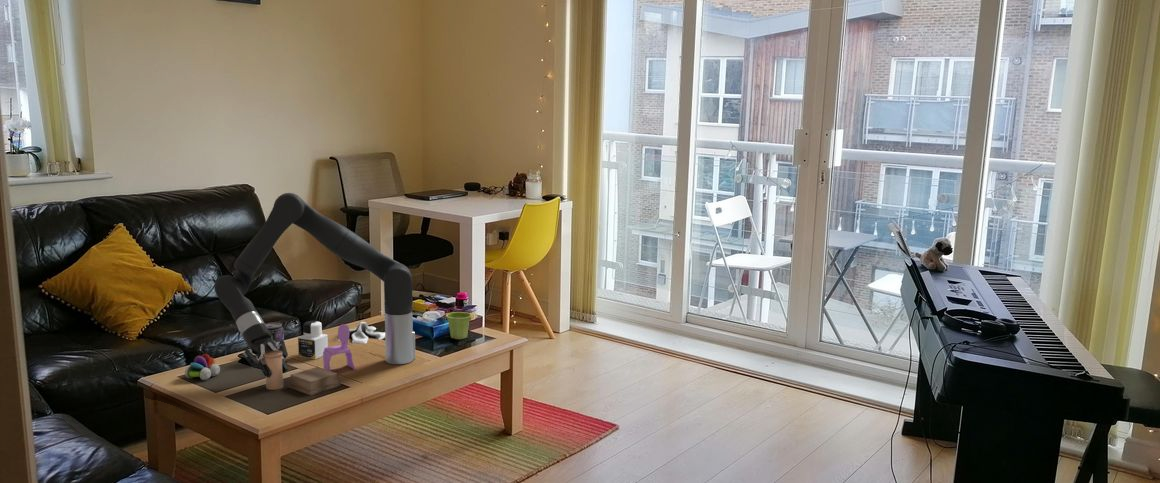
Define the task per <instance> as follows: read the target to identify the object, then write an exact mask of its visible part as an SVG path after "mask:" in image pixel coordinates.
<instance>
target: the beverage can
mask: <svg viewBox="0 0 1160 483" xmlns="http://www.w3.org/2000/svg"><path fill="white" fill-rule="evenodd" d="M265 325H266V327H267V329H268V331H269V332H270V334H271V338H272V339H273V340H274V341H275V342H280V341H281V340H283V341H284V342H285V338H284V337H285V336H284V335H285V334H284V328H283V325H282V323H280V322H268V323H265ZM275 348H276V349H277V347H276V346H275ZM277 350H279V349H277Z"/></svg>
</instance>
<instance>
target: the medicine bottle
mask: <svg viewBox="0 0 1160 483" xmlns="http://www.w3.org/2000/svg"><path fill="white" fill-rule="evenodd" d="M322 325H323V324H322V322H320V321H318V320H308V321H305V322H304V323H303V324H302V327H303V330H302V331H303V335H301V336H298V337H297V342H298V357H299V358H303V359H304V358H305V359H311V360H317V359H320V358H321V357H322V358H323V352H324V348H326V347H329V345H328V344H329V339H328V334H326V333H323V331H322V330H323V329H322V328H323V326H322Z"/></svg>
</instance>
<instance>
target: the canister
mask: <svg viewBox="0 0 1160 483" xmlns="http://www.w3.org/2000/svg"><path fill="white" fill-rule="evenodd" d="M282 355H283V353H282V351H279V350H272V351H267V352H265V353H264V357H265V362H266V364H267V366H268V367H269V369H270V371H271V373H272V375H271V377H269V378H267V377H266V376H265V388H266V390H271V391H272V390H273V391H275V390H281V389H282V388H284V373H283V368H282Z"/></svg>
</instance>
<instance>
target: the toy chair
mask: <svg viewBox="0 0 1160 483" xmlns="http://www.w3.org/2000/svg"><path fill="white" fill-rule="evenodd" d="M337 329H338V330H337V338H338V340H340V341H339V342H340V343H341V344H339V345H333V346H328V347H326V348H324V352H323V356H322V358H323V359H322V360H323V361H322V362H323V367H324V368H323V369H326V370H329V371H332V369H331V366H330V364H331V359H332V357H333V356H336V355H339V354H340V355H341V354H344V355H345V358H346V365H347V366H348V367H350V368H351V369H353V370H354V371H356V367H355V364H354V362H353V353H352V352H351V348H348V344H349V339H350V337H349V329H350V327H349V325H348V324H347V323H346V324H345V323H343V324H340V325H339V326H338V328H337Z"/></svg>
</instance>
